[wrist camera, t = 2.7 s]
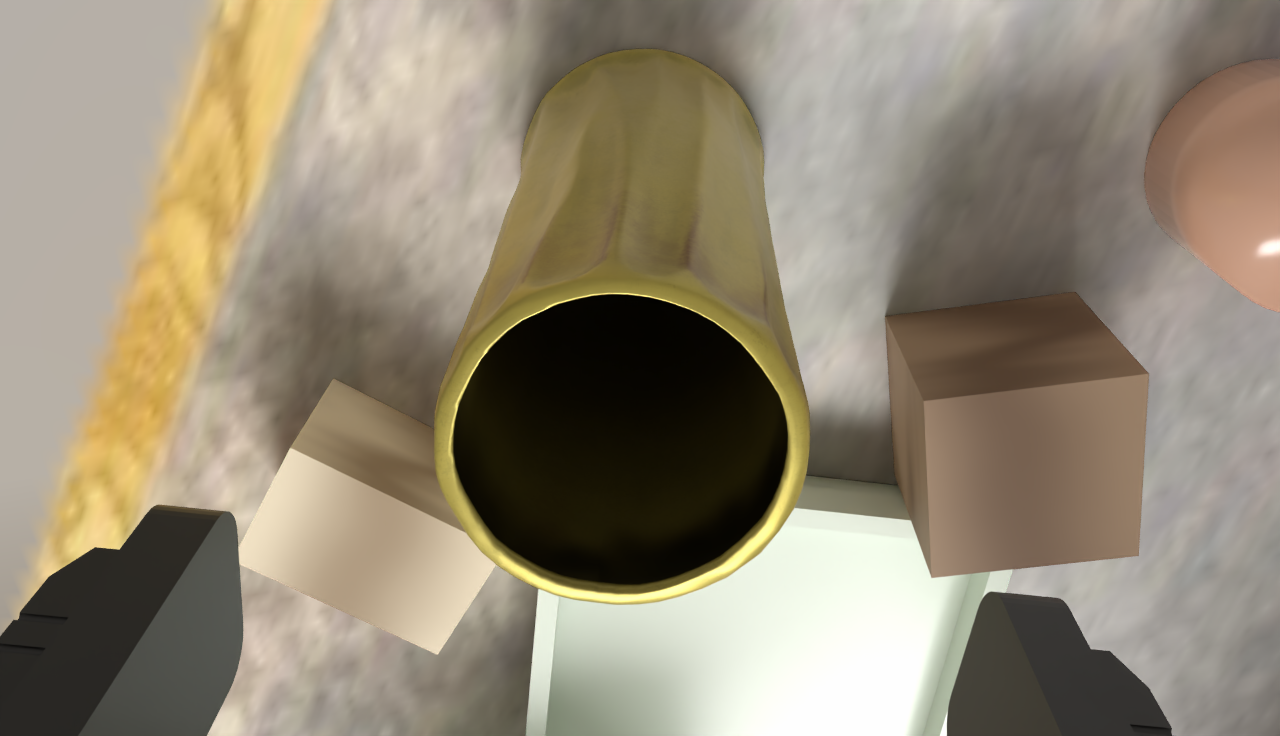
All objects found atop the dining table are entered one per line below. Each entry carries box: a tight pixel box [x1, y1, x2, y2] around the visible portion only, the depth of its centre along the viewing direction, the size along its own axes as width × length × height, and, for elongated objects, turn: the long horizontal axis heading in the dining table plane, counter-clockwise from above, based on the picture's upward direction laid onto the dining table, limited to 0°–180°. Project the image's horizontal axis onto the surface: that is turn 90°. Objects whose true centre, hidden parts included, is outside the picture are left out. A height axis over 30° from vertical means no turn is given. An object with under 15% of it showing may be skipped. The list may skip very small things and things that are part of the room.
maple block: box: [238, 378, 496, 655], centre depth 30 cm, size 6×4×4 cm, turn 60°
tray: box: [526, 476, 1013, 736], centre depth 34 cm, size 13×13×2 cm
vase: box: [434, 49, 810, 605], centre depth 21 cm, size 6×6×14 cm
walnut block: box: [885, 292, 1149, 578], centre depth 28 cm, size 5×5×5 cm
